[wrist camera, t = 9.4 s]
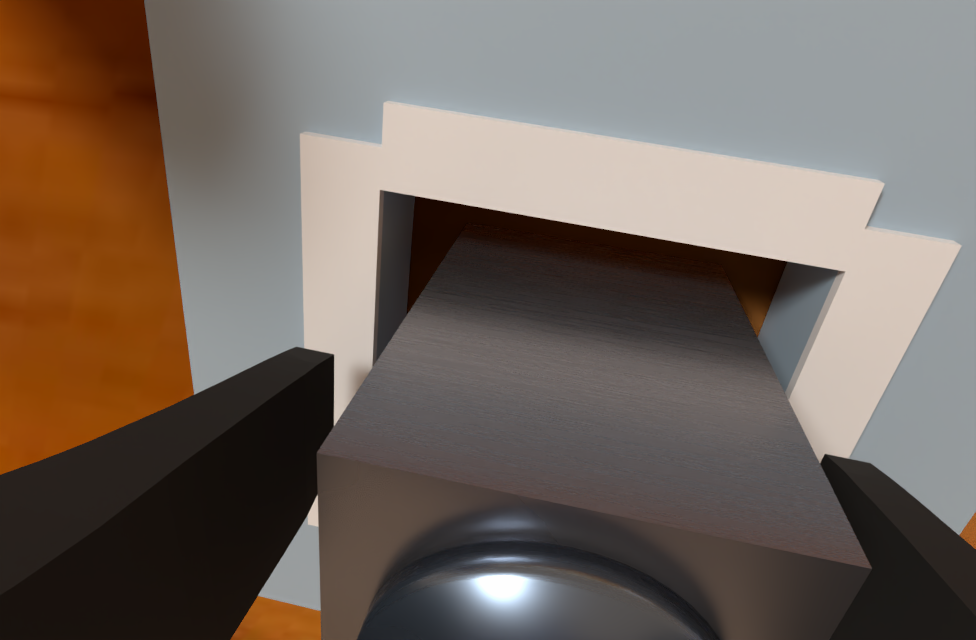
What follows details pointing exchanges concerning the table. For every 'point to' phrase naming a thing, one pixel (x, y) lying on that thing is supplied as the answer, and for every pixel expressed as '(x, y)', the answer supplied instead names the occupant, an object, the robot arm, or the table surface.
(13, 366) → the table surface
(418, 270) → the table surface
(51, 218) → the table surface
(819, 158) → the mount plate
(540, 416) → the lens block
